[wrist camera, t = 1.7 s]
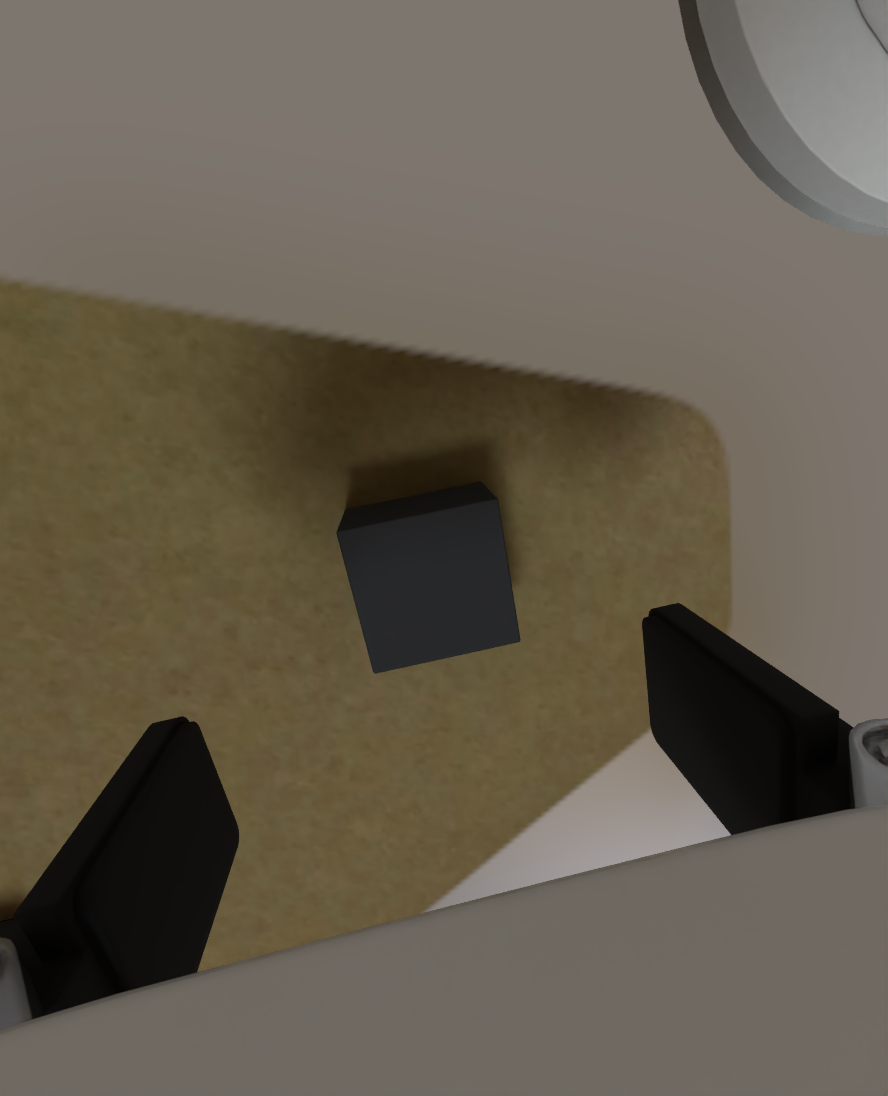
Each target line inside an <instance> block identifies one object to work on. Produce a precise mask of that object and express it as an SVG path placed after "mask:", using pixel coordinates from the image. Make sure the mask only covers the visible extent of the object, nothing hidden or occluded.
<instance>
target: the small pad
mask: <svg viewBox="0 0 888 1096" xmlns="http://www.w3.org/2000/svg"><path fill="white" fill-rule="evenodd" d="M337 537H338V541H339V544H340V548H341V552H342V556H343V559H344V563H345V567H346V571H347V575H348V578H349V582H350V586H351V590H352V593H353V597H354V601H355V605H356V609H357V612H358V616H359V620H360V624H361V628H362V631H363V635H364V639H365V643H366V646H367V650H368V654H369V658H370V662H371V665H372V669H373V672H374V673H375V674H376V673H380V672H385V671H389V670H394V669H398V668H403V667H408V666H412V665H417V664H421V663H426V662H430V661H435V660H439V659H444V658H449V657H453V656H458V655H462V654H467V653H471V652H476V651H481V650H485V649H490V648H494V647H499V646H503V645H508V644H512V643H517V642H520V635H519V628H518V622H517V616H516V609H515V603H514V597H513V591H512V584H511V578H510V572H509V565H508V559H507V553H506V546H505V540H504V534H503V528H502V521H501V515H500V509H499V502H498V499H497V497H496V496H495V495H494V494H493V493H492V492H491V491H490V490H489V489H488V488H487V487H486V486H485V485H484V484H483V483H482V482H477V483H473V484H468V485H463V486H458V487H453V488H448V489H444V490H439V491H434V492H429V493H424V494H419V495H414V496H410V497H405V498H400V499H395V500H390V501H385V502H381V503H376V504H371V505H366V506H361V507H356V508H352V509H347V510H345V512H344V514H343V517H342V519H341V522H340V525H339V527H338V530H337Z"/></svg>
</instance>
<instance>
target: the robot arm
mask: <svg viewBox="0 0 888 1096" xmlns="http://www.w3.org/2000/svg"><path fill="white" fill-rule="evenodd" d="M857 2H858V4H859V7H860V9H861V11H862V14H863V16H864V18H865V20H866V21H867V23H868V24H869V25H870V27H871V28H872V30H873V31H874V33H875V34H876V36H877V37H878V39H879V40H880V42H881V43H882V45H883V46H884V47H885V49H886V50H887V52H888V0H857ZM642 630H643V642H644V654H645V666H646V678H647V690H648V702H649V714H650V725H651V730H652V733H653V735H654V738H655V740H656V742H657V743H658V744H659V746H660V747H661V748H662V749H663V751H664V752H665V753H666V754H667V756H668V757H669V758H670V759H671V760H672V762H673V763H674V764H675V766H676V767H677V768H678V769H679V770H680V772H681V773H682V774H683V775H684V777H685V778H686V779H687V780H688V782H689V783H690V784H691V785H692V787H693V788H694V789H695V790H696V792H697V793H698V794H699V795H700V796H701V798H702V799H703V800H704V802H705V803H706V804H707V805H708V807H709V808H710V809H711V810H712V811H713V813H714V814H715V815H716V816H717V818H718V819H719V820H720V821H721V823H722V824H723V825H724V826H725V828H726V829H727V830H728V831H729V833H730V834H731V836H727V837H723V838H719V839H714V840H711V841H706V842H702V843H698V844H694V845H690V846H686V847H682V848H678V849H674V850H671V851H666V852H662V853H658V854H654V855H650V856H646V857H642V858H638V859H634V860H630V861H626V862H622V863H619V864H615V865H610V866H606V867H603V868H598V869H594V870H590V871H586V872H582V873H578V874H574V875H571V876H566V877H563V878H558V879H555V880H550V881H547V882H543V883H539V884H535V885H531V886H527V887H523V888H520V889H515V890H511V891H507V892H503V893H500V894H496V895H492V896H488V897H484V898H480V899H476V900H472V901H468V902H464V903H461V904H457V905H453V906H449V907H445V908H442V909H437V910H433V911H430V912H426V913H422V914H418V915H414V916H410V917H406V918H402V919H399V920H395V921H391V922H387V923H383V924H379V925H375V926H371V927H368V928H364V929H360V930H356V931H352V932H348V933H345V934H341V935H337V936H333V937H330V938H326V939H322V940H318V941H314V942H311V943H307V944H303V945H299V946H295V947H292V948H288V949H284V950H280V951H277V952H273V953H269V954H265V955H261V956H258V957H254V958H250V959H246V960H242V961H239V962H235V963H231V964H227V965H223V966H220V967H216V968H212V969H208V970H205V971H201V972H197V970H198V967H199V964H200V961H201V958H202V955H203V952H204V949H205V946H206V943H207V940H208V937H209V934H210V930H211V927H212V924H213V921H214V918H215V915H216V912H217V909H218V906H219V903H220V900H221V897H222V894H223V891H224V888H225V884H226V881H227V878H228V875H229V872H230V869H231V866H232V863H233V860H234V857H235V854H236V851H237V848H238V843H239V829H238V825H237V822H236V820H235V817H234V815H233V812H232V809H231V807H230V804H229V802H228V799H227V797H226V794H225V791H224V789H223V786H222V784H221V781H220V779H219V776H218V773H217V771H216V768H215V766H214V763H213V761H212V758H211V755H210V753H209V750H208V748H207V745H206V743H205V740H204V737H203V735H202V732H201V730H200V727H199V725H198V724H197V723H196V722H194V721H193V722H189V720H188V719H187V718H186V717H183V716H182V717H178V718H173V719H169V720H165V721H160V722H156V723H152V724H151V725H150V726H149V727H148V729H147V730H146V731H145V733H144V734H143V736H142V737H141V738H140V740H139V741H138V743H137V744H136V745H135V747H134V748H133V750H132V751H131V752H130V754H129V755H128V756H127V758H126V759H125V761H124V762H123V763H122V765H121V766H120V768H119V769H118V770H117V772H116V773H115V775H114V776H113V777H112V779H111V780H110V781H109V783H108V784H107V786H106V787H105V788H104V790H103V791H102V793H101V794H100V795H99V797H98V798H97V800H96V801H95V802H94V804H93V805H92V806H91V808H90V809H89V811H88V812H87V813H86V815H85V816H84V818H83V819H82V820H81V822H80V823H79V824H78V826H77V827H76V829H75V830H74V831H73V833H72V834H71V836H70V837H69V838H68V840H67V841H66V843H65V844H64V845H63V847H62V848H61V849H60V851H59V852H58V854H57V855H56V856H55V858H54V859H53V861H52V862H51V863H50V865H49V866H48V868H47V869H46V870H45V872H44V873H43V874H42V876H41V877H40V879H39V880H38V881H37V883H36V884H35V886H34V887H33V888H32V890H31V891H30V893H29V894H28V895H27V897H26V898H25V899H24V901H23V902H22V904H21V905H20V906H19V908H18V909H17V911H16V912H15V913H14V916H15V917H16V919H17V921H18V922H19V924H20V925H19V926H18V928H17V929H16V931H15V932H14V934H13V935H12V936H11V938H10V939H6V938H2V937H0V1096H888V719H887V718H886V719H874V720H869V721H865V722H862V723H859V724H857V725H856V726H855V727H854V728H853V727H852V726H850V725H849V724H848V723H846V722H845V721H843V720H842V719H840V718H839V711H838V710H837V709H835V708H834V707H832V706H831V705H829V704H828V703H826V702H825V701H823V700H822V699H820V698H819V697H817V696H816V695H814V694H813V693H812V692H810V691H808V690H807V689H805V688H804V687H803V686H801V685H800V684H798V683H797V682H795V681H794V680H792V679H791V678H789V677H788V676H786V675H785V674H783V673H782V672H780V671H779V670H777V669H776V668H775V667H773V666H772V665H770V664H769V663H767V662H766V661H764V660H763V659H761V658H760V657H758V656H757V655H755V654H754V653H752V652H751V651H749V650H748V649H747V648H745V647H744V646H742V645H741V644H739V643H738V642H736V641H735V640H733V639H732V638H730V637H729V636H727V635H726V634H724V633H723V632H722V631H720V630H719V629H717V628H716V627H714V626H713V625H711V624H710V623H708V622H707V621H705V620H704V619H702V618H701V617H699V616H698V615H696V614H695V613H693V612H692V611H691V610H689V609H688V608H686V607H685V606H683V605H682V604H679V603H676V604H671V605H667V606H662V607H658V608H654V609H651V610H650V611H649V617H645V618H644V619H643V621H642Z"/></svg>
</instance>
